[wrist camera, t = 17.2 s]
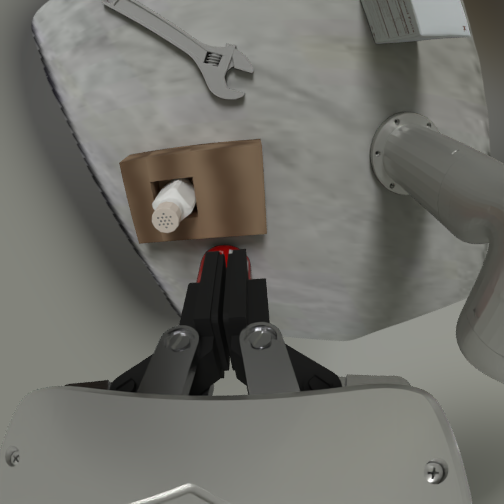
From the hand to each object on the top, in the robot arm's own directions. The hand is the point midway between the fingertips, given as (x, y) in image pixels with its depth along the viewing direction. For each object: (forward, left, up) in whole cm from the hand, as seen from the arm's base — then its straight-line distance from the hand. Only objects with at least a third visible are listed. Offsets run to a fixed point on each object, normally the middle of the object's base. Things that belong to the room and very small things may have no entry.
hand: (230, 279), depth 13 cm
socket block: (+6, +6, -29) cm, 30 cm away
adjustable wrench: (+7, -16, -30) cm, 34 cm away
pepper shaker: (+9, +6, -29) cm, 31 cm away
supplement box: (-21, -18, -29) cm, 40 cm away
